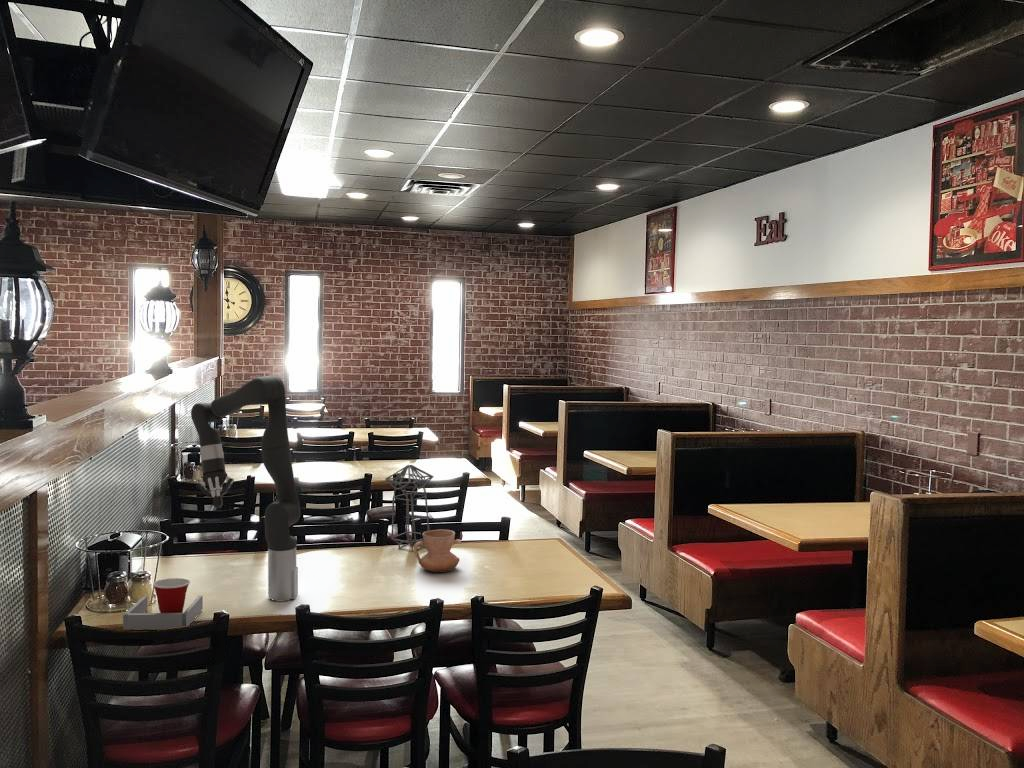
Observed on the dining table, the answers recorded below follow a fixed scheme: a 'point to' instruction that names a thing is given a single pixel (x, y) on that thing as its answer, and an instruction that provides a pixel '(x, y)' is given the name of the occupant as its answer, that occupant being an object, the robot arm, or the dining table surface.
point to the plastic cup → (171, 594)
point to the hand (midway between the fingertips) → (218, 507)
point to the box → (159, 616)
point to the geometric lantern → (402, 474)
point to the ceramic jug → (438, 551)
